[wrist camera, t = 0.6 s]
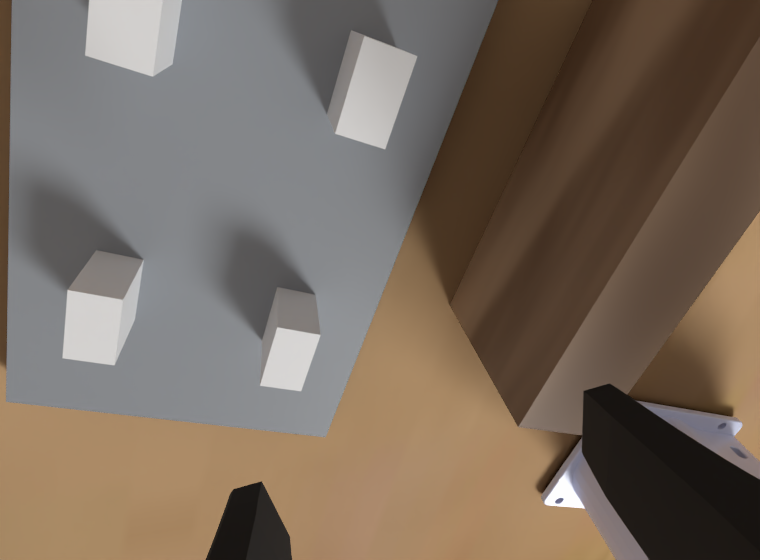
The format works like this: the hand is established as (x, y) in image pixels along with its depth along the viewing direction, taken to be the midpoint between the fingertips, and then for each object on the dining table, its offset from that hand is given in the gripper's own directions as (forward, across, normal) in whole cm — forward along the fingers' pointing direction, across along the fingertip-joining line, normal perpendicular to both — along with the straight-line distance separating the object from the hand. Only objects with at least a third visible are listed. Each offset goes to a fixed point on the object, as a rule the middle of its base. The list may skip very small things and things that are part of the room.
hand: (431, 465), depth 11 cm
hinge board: (+10, +4, -4) cm, 11 cm away
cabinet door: (+10, -7, -2) cm, 12 cm away
